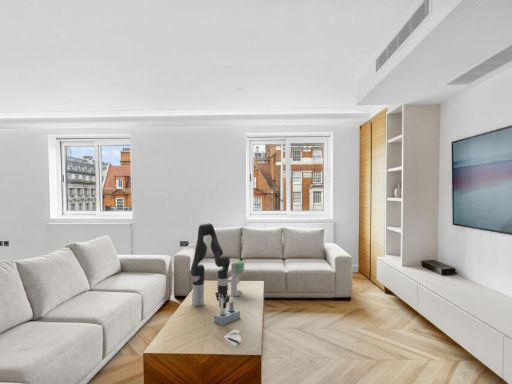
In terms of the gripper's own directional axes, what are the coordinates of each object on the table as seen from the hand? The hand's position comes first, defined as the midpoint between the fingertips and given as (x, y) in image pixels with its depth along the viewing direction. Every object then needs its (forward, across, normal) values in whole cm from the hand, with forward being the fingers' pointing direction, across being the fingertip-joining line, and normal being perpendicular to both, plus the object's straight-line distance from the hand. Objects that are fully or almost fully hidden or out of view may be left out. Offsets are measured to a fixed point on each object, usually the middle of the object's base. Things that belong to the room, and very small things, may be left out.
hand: (222, 307), depth 234 cm
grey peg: (+10, 0, +9) cm, 14 cm away
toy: (+10, -34, +52) cm, 63 cm away
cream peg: (+5, 0, 0) cm, 5 cm away
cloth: (+11, +24, -13) cm, 29 cm away
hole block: (+10, 0, +4) cm, 11 cm away
